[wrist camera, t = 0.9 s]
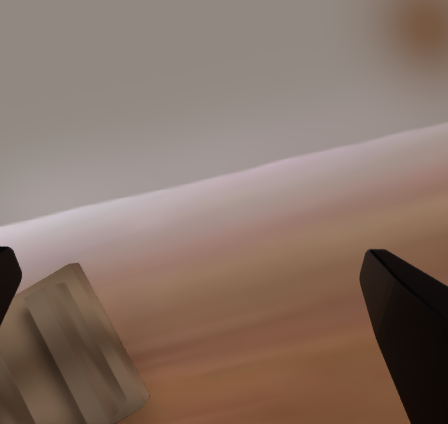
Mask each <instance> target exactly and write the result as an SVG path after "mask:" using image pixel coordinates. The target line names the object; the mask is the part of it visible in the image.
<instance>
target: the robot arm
mask: <svg viewBox="0 0 448 424" xmlns="http://www.w3.org/2000/svg"><path fill="white" fill-rule="evenodd" d="M21 279H22V271H21V269H20V266H19V263H18V261H17V258H16V256H15V253H14V251H13V250H12V249H11V248H10V247H1V246H0V326H1V324H2V322H3V320H4V317H5V315H6V313H7V311H8V309H9V306H10V304H11V302H12V300H13V298H14V296H15V293H16V291H17V289H18V287H19V285H20V282H21ZM360 285H361V288H362V292H363V296H364V299H365V303H366V306H367V310H368V313H369V317H370V320H371V324H372V327H373V331H374V334H375V337H376V340H377V342H378V345H379V348H380V350H381V352H382V355H383V357H384V360H385V362H386V365H387V367H388V369H389V372H390V374H391V377H392V379H393V382H394V384H395V386H396V389H397V391H398V394H399V396H400V399H401V401H402V403H403V406H404V408H405V411H406V413H407V416H408V418H409V420H410V423H411V424H448V286H446V285H445V284H443V283H441V282H440V281H438V280H436V279H435V278H433V277H431V276H430V275H428V274H426V273H424V272H423V271H421V270H419V269H418V268H416V267H414V266H413V265H411V264H409V263H408V262H406V261H404V260H402V259H401V258H399V257H397V256H396V255H394V254H392V253H391V252H389V251H387V250H385V249H369V250H367V251H366V253H365V256H364V260H363V264H362V268H361V272H360Z"/></svg>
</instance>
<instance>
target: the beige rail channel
mask: <svg viewBox="0 0 448 424" xmlns="http://www.w3.org/2000/svg"><path fill="white" fill-rule="evenodd" d="M149 396H150V395H149V393H148V391H147V389H146V388H145V386H144V384H143V382H142V380H141V378H140V376H139V374H138V373H137V371H136V369H135V367H134V365H133V363H132V361H131V360H130V358H129V356H128V354H127V352H126V350H125V348H124V347H123V345H122V343H121V341H120V339H119V337H118V335H117V333H116V332H115V330H114V328H113V326H112V324H111V322H110V320H109V319H108V317H107V315H106V313H105V311H104V309H103V307H102V306H101V304H100V302H99V300H98V298H97V296H96V294H95V292H94V291H93V289H92V287H91V285H90V283H89V281H88V279H87V278H86V276H85V274H84V272H83V270H82V268H81V266H80V265H79V263H73V264H68V265H66V266H64V267H63V268H61V269H59V270H58V271H56V272H54V273H53V274H51V275H49V276H48V277H46V278H44V279H42V280H41V281H39V282H37V283H36V284H34V285H32V286H31V287H29V288H27V289H25V290H24V291H22V292H20V293H19V294H17V295H15V296H14V298H13V300H12V302H11V304H10V306H9V309H8V311H7V313H6V315H5V317H4V320H3V322H2V324H1V326H0V424H115V423H117V422H119V421H120V420H122V419H124V418H125V417H127V416H129V415H130V414H132V413H134V412H135V411H137V410H138V409H140V408H142V407H143V406H145V404H146V402H147V400H148V398H149Z"/></svg>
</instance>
